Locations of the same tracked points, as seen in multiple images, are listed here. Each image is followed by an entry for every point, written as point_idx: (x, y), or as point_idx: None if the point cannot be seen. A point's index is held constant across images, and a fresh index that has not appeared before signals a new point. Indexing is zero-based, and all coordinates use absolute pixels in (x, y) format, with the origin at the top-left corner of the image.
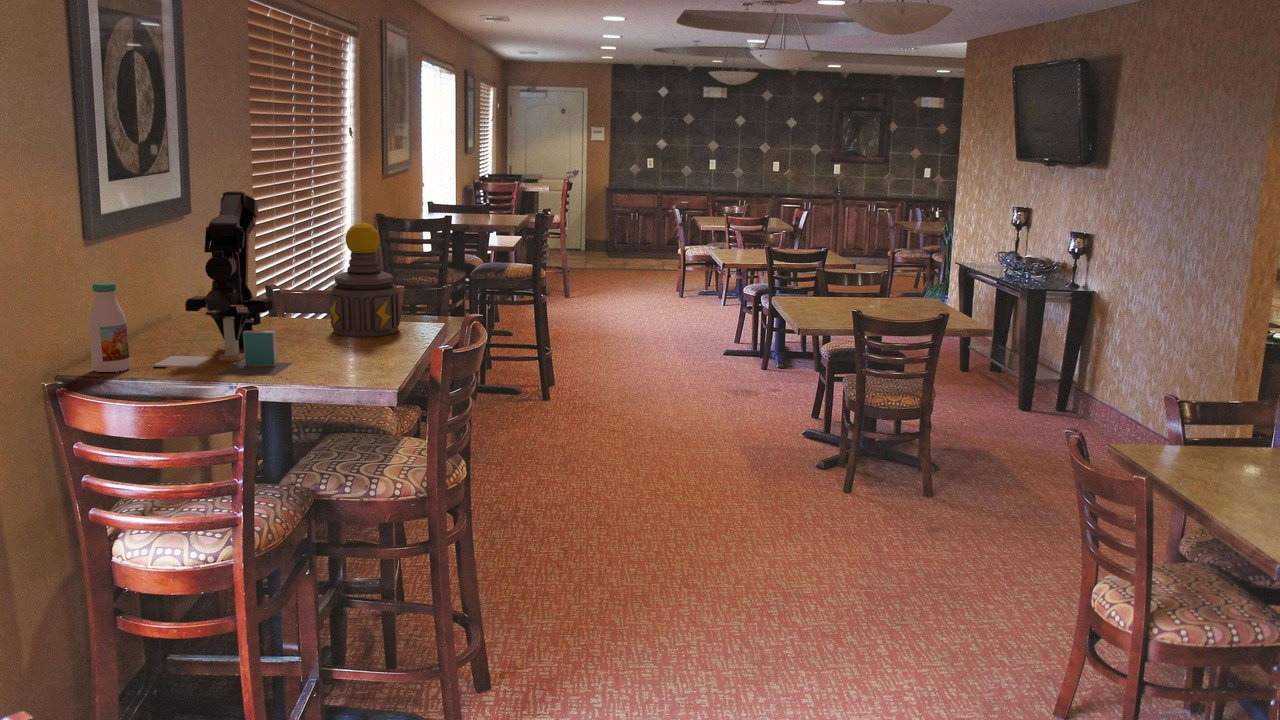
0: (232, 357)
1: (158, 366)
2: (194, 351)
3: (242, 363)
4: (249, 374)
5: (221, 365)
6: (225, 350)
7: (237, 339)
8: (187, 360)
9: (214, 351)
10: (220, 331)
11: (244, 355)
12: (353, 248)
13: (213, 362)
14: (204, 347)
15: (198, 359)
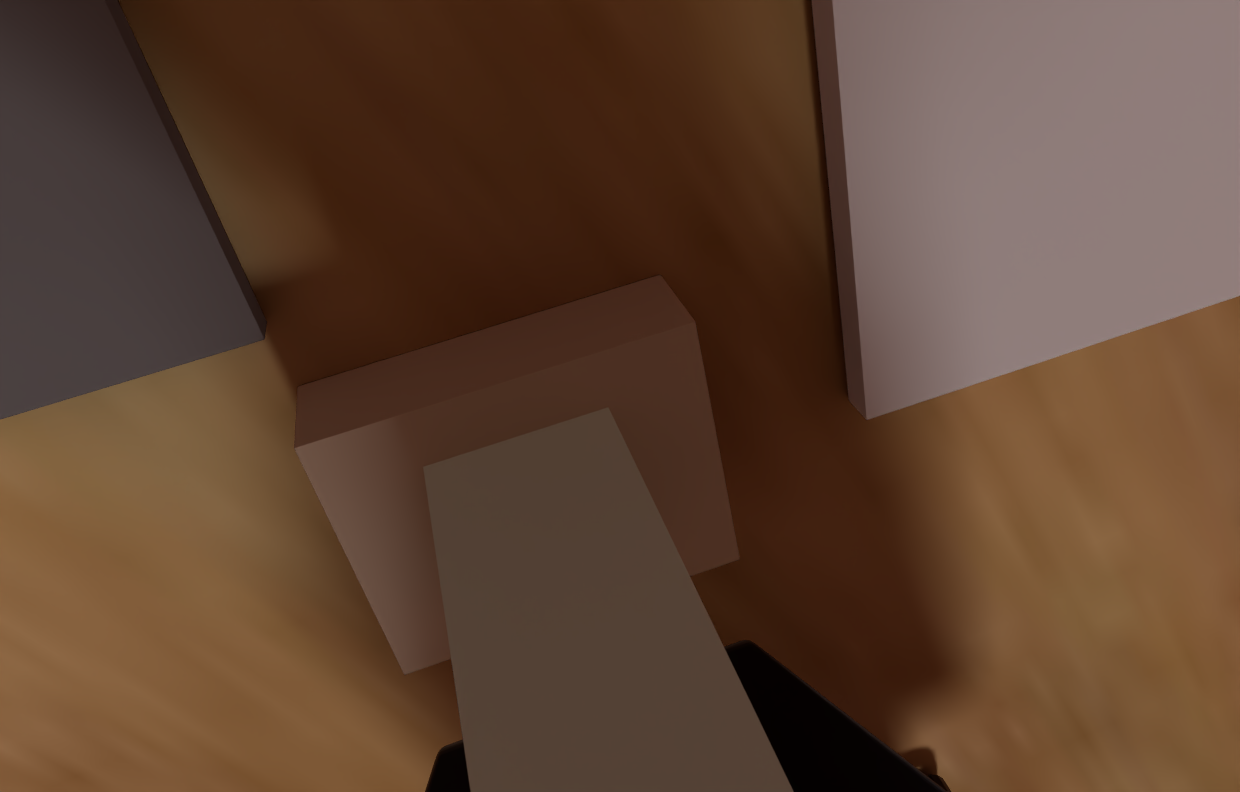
0: (434, 392)
1: None
2: (1230, 602)
3: (34, 230)
4: None
5: (463, 78)
6: (623, 461)
7: (433, 766)
8: (1151, 36)
9: (1023, 694)
10: (901, 767)
11: (380, 606)
12: None
13: (741, 230)
14: (1183, 754)
15: (1005, 176)
